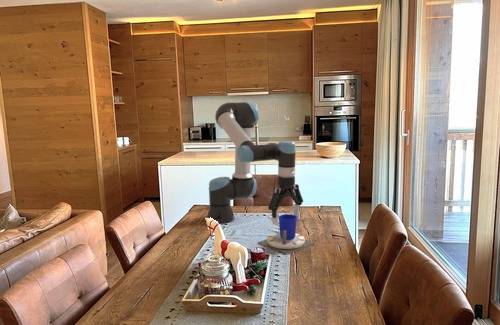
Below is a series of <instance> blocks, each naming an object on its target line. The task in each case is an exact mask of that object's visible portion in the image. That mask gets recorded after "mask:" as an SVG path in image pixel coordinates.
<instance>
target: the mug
mask: <svg viewBox="0 0 500 325" xmlns="http://www.w3.org/2000/svg"><path fill="white" fill-rule="evenodd" d="M297 220H298V219H297V217H296V216H295V215H294V214H288V213H285V214H280V215H278V227H279V232H280V236H281V238H282V239H283V230H286V240H291V239H294V238H295V234H296V233H297V232H296V231H297V223H298V222H297Z"/></svg>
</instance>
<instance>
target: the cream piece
mask: <svg viewBox="0 0 500 325" xmlns="http://www.w3.org/2000/svg"><path fill="white" fill-rule="evenodd" d="M305 240H306V238H305V236H304V235H302V234H301V233H300V234H299V233H297V232H296V234H295V238H294V239H291V240H286V230H283V239H282V238H281V236H280V231H279V232H274V233H272V234H270V235H267V243H268V244H269V245H270V246H272V247H275V248H279V249H295V248H299V247H301V246H303V245H304V244H305Z"/></svg>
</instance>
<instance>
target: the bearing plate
mask: <svg viewBox="0 0 500 325" xmlns="http://www.w3.org/2000/svg"><path fill="white" fill-rule="evenodd" d="M257 243H258V244H259V245H261V246H263V245H264V247H266V248H268V247H269V249H271V250H273V249H274V251H276V252H278V253H281V254H283V253H284V255H286V254H287V255H289V254H291V253H294V252H297V251H299V250H302V249H303V250H304V249H305V248H308V247H310V246H314V245H315V243H314V242H313V241H310V240H308V239H307V240H306V239H305V244H304V245H303V246H301V247H299V248H295V249H279V248H275V247H272V246H270V245H269V244H268V243H267V239H263V240H260V241H258V242H257Z"/></svg>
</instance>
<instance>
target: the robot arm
mask: <svg viewBox="0 0 500 325" xmlns="http://www.w3.org/2000/svg"><path fill="white" fill-rule="evenodd" d="M258 121H259V111H258V107H257V106H256V105H255V104H254V103H253V102H247V101H245V102H241V101H240V102H225V103H222V104H220V106H219V107H218V108H217V110H216V111H215V122H216V124H217V125H218V127H219V128H220V129H222V130H223V131H224V132H225V133H226V134H227V136H228V138H229V139H230V140H231V141H232V143H233V144H234V148H235V149H234V153H235V154H234V155H235V156H234V172H233V173H232V174H231V178H230V177H229V176H220V177H215V178H212V179H210V181H209V182H208V194H209V196H208V198H209V202H208V203H209V208H208V212H207V214H206V219H207V218H210V217H211V218H213V219H214V220H216V221H218V222H219V223H218V224H226V223H230V222H233V221H234V220H235V216H234V212H233V208H232V206H231V201H234V200H241V199H247V198H252V197H253V196H255V194H256V191H257V187H258V186H257V185H258V184H257V181H256V179H255V177H254V176H253V174H252V173H251V163H254V162H255V163H256V162H264V161H265V162H266V161H277V163H278V166H277V168H278V169H277V170H278V171H277V175H278V177H277V178H278V180H277V184H278V185H279V187H278V188H276V187H273V192H272V195H271V199H270V202H269V205H268V207H267V208H268V210H269V211H271V218H272V224H273V225H275V226H279V211H278V209H279V207H280V205H281V203H282V202H283V200H284V199H285V197H286V198H287V197H291V199H292V201H293V202H294V204H293V215H295V216H296V217H297V220H299V219H300V208H301V206H302V205H303V203H304V199H303V197H302V194H301V191H300V184H297V183H296V177H295V175H296V152H297V150H296V142H294V141H292V140H291V141H290V140H282V141H279V142H278V143H276V142H269V143H266V144H256V143H254V142H253V141H252V130H253V129H254V128H255V124H257V123H258Z"/></svg>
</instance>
